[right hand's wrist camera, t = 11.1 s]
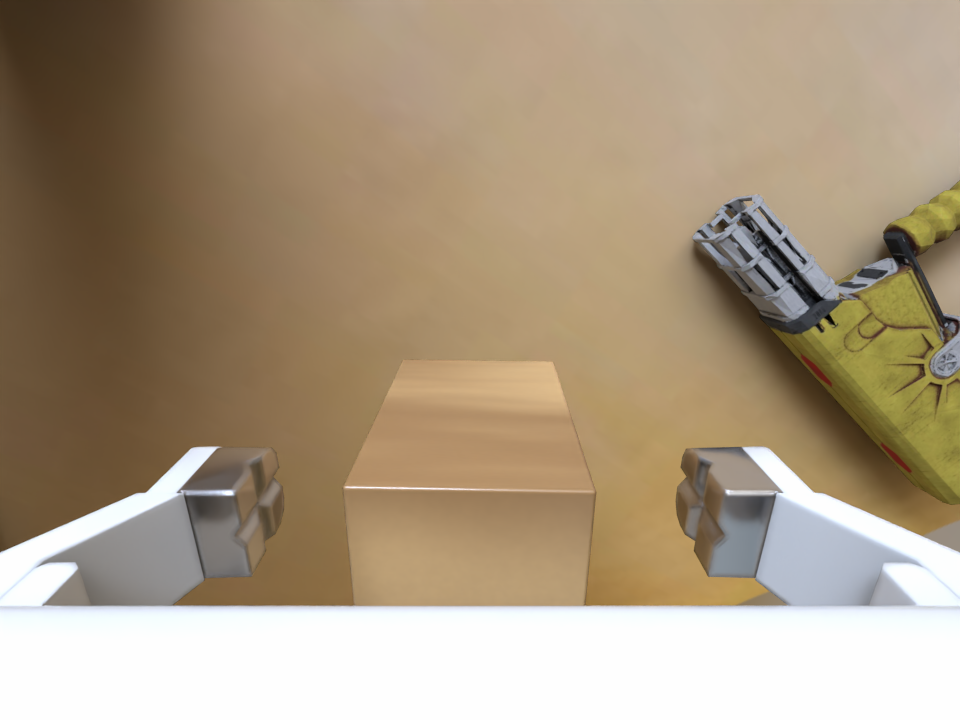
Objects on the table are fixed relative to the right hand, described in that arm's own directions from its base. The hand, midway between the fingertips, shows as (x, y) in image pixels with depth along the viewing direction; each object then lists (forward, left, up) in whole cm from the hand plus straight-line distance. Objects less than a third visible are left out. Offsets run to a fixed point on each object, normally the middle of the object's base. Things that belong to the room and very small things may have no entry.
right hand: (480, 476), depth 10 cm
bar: (+14, 0, -9) cm, 17 cm away
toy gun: (+1, +26, -24) cm, 35 cm away
